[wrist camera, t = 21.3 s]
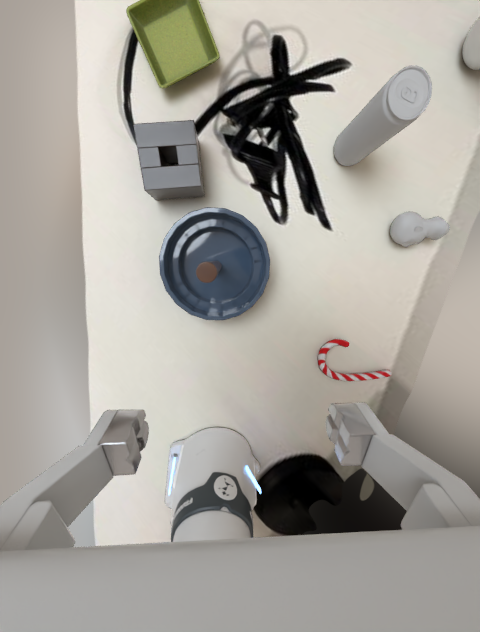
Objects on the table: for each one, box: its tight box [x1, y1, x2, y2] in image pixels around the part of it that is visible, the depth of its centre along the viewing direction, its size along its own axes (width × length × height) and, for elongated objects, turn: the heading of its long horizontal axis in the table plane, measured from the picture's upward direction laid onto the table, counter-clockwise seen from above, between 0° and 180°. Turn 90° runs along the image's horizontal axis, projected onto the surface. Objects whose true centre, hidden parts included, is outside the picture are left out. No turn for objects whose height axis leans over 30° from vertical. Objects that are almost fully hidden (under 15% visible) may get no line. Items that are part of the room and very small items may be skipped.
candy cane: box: [318, 339, 391, 381], centre depth 42 cm, size 8×1×15 cm
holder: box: [133, 120, 205, 200], centre depth 31 cm, size 7×7×5 cm
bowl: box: [159, 207, 270, 320], centre depth 34 cm, size 15×15×6 cm
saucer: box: [127, 0, 219, 88], centre depth 29 cm, size 9×9×2 cm
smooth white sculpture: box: [390, 212, 450, 247], centre depth 36 cm, size 4×8×5 cm
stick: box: [196, 261, 222, 283], centre depth 27 cm, size 2×2×20 cm
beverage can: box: [334, 66, 432, 166], centre depth 28 cm, size 5×5×12 cm
